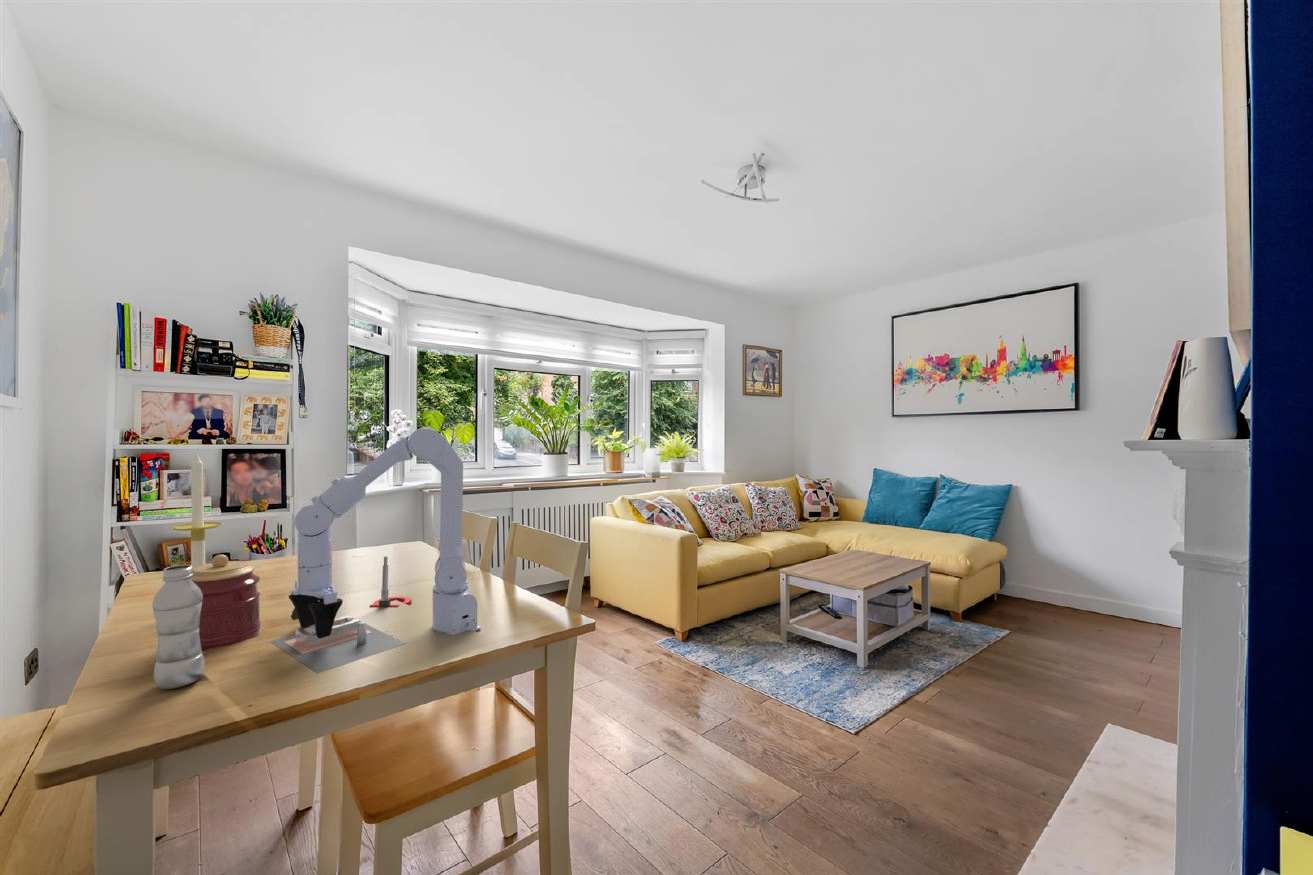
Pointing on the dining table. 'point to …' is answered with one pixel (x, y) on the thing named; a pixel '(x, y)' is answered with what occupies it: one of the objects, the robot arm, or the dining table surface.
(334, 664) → the post board
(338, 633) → the c link
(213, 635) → the canister
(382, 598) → the tow hook
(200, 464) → the candle
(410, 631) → the dining table surface
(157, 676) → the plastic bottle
